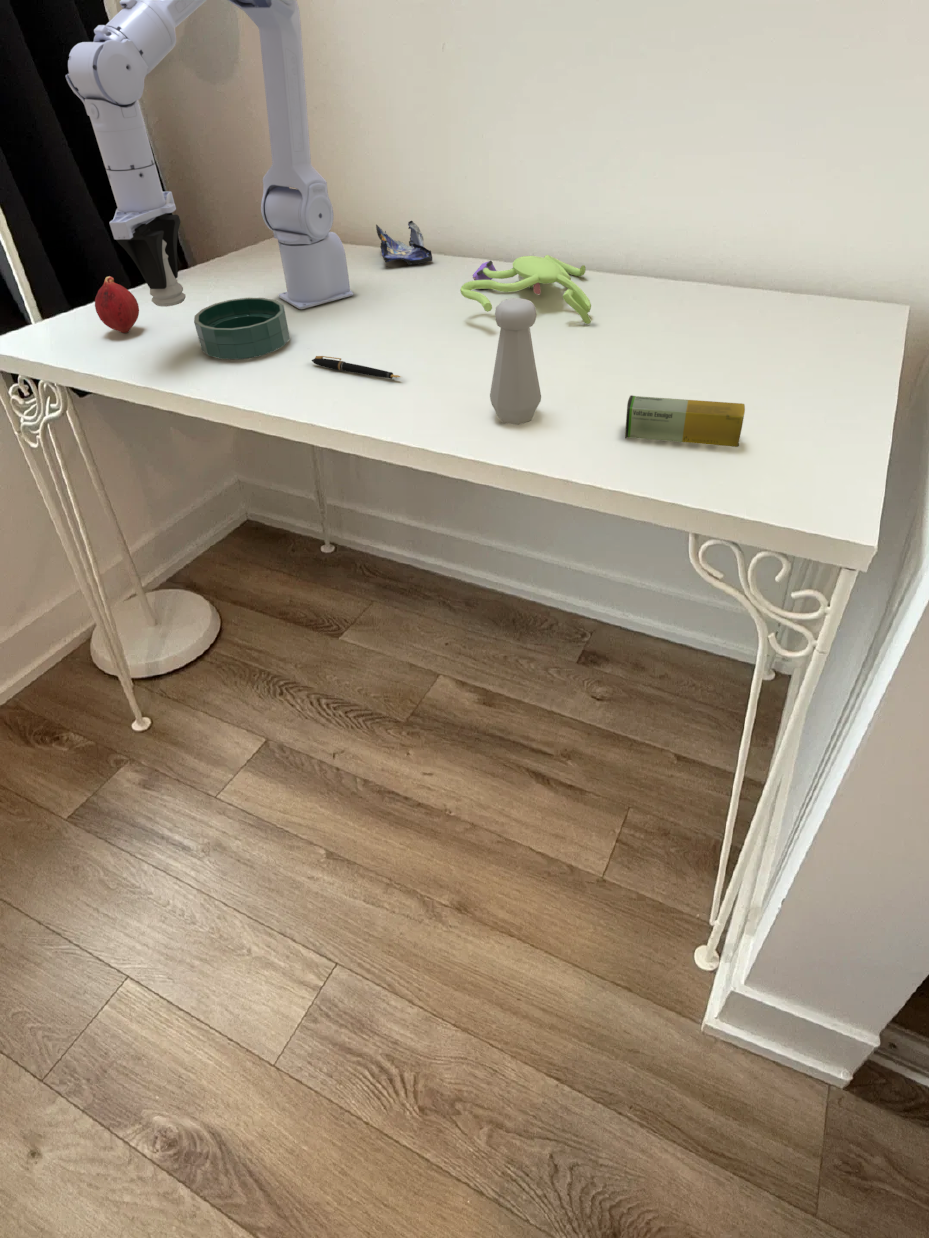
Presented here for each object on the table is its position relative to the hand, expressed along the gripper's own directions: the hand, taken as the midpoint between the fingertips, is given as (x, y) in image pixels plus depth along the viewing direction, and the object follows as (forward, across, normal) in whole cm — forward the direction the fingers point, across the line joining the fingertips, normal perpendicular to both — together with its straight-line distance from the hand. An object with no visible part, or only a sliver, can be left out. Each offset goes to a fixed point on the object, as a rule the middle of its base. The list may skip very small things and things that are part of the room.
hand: (164, 283), depth 103 cm
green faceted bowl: (+10, +3, -8) cm, 13 cm away
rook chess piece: (+3, 0, 0) cm, 3 cm away
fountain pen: (+10, -6, -26) cm, 28 cm away
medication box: (+10, -24, -65) cm, 70 cm away
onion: (+10, +8, +12) cm, 18 cm away
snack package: (+10, +42, -25) cm, 50 cm away
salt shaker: (+10, -18, -47) cm, 51 cm away
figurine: (+10, +19, -47) cm, 52 cm away
